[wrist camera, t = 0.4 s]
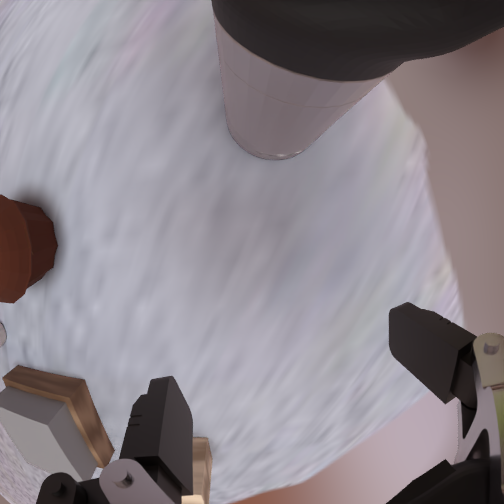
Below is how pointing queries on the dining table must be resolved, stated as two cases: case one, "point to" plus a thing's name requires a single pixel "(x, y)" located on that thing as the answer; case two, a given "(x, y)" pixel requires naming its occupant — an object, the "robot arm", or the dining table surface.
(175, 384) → the robot arm
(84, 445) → the slate top block
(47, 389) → the walnut base block
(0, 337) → the photo printer
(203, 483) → the birch pillar block
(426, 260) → the dining table surface
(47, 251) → the muffin
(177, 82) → the dining table surface
